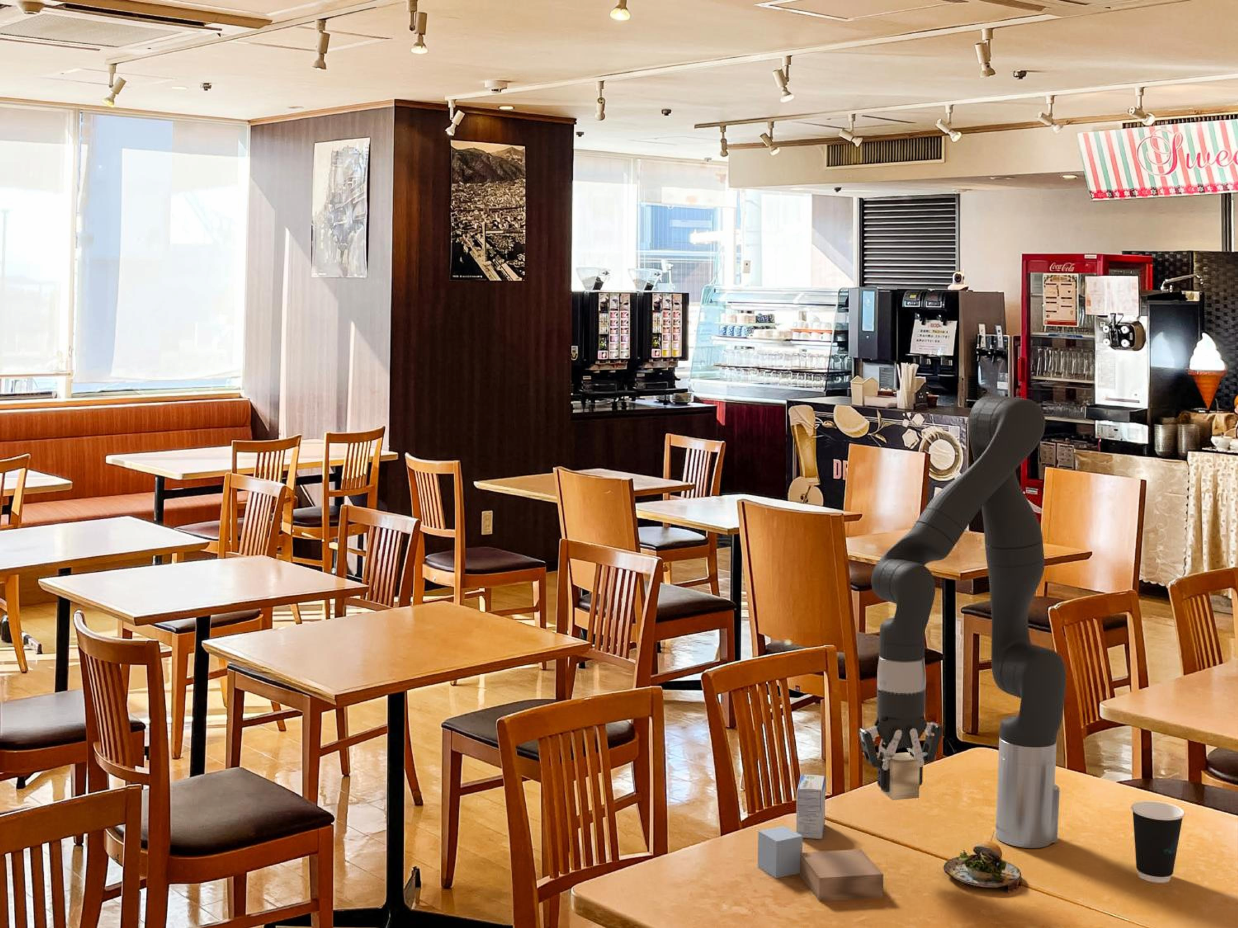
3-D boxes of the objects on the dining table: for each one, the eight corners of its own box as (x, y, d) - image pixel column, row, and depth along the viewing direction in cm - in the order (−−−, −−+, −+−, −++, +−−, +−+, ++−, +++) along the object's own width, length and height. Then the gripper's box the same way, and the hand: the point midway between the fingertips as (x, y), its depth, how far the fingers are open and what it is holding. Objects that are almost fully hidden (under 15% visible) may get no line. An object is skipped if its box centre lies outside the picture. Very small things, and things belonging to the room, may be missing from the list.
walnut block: (860, 873, 222) (861, 848, 221) (882, 899, 212) (883, 873, 211) (799, 876, 220) (800, 852, 219) (818, 903, 210) (819, 877, 210)
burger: (928, 871, 222) (930, 826, 222) (989, 861, 227) (990, 816, 226) (975, 900, 211) (977, 852, 211) (1038, 888, 216) (1040, 842, 215)
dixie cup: (1183, 889, 216) (1187, 820, 214) (1128, 882, 218) (1132, 814, 217) (1179, 870, 223) (1182, 803, 222) (1126, 864, 226) (1129, 797, 224)
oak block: (906, 788, 226) (907, 752, 225) (919, 797, 222) (919, 760, 221) (880, 790, 225) (881, 754, 224) (892, 800, 221) (893, 763, 220)
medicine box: (822, 840, 235) (823, 790, 234) (795, 838, 236) (796, 788, 235) (824, 823, 242) (826, 775, 241) (799, 821, 243) (800, 773, 242)
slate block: (783, 861, 225) (784, 825, 225) (801, 872, 221) (802, 835, 220) (757, 867, 223) (758, 830, 222) (775, 878, 218) (776, 841, 218)
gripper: (932, 675, 227) (930, 777, 228) (849, 681, 223) (848, 785, 225) (953, 687, 219) (951, 793, 221) (868, 694, 216) (867, 801, 218)
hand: (899, 788), depth 223 cm, fingers closed on oak block, 4 cm apart
